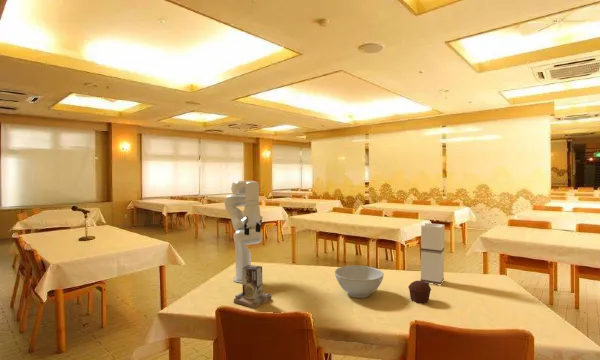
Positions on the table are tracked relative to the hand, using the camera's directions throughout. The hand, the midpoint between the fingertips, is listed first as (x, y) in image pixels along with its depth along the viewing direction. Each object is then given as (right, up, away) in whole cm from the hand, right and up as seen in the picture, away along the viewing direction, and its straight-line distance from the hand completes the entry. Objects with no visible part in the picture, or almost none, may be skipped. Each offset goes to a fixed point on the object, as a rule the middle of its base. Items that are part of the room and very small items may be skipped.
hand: (252, 233), depth 191 cm
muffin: (+90, -34, -13) cm, 97 cm away
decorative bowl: (+60, -33, -3) cm, 69 cm away
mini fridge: (+108, -32, +16) cm, 114 cm away
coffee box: (+2, -32, -13) cm, 34 cm away
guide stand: (+2, -34, -13) cm, 36 cm away
